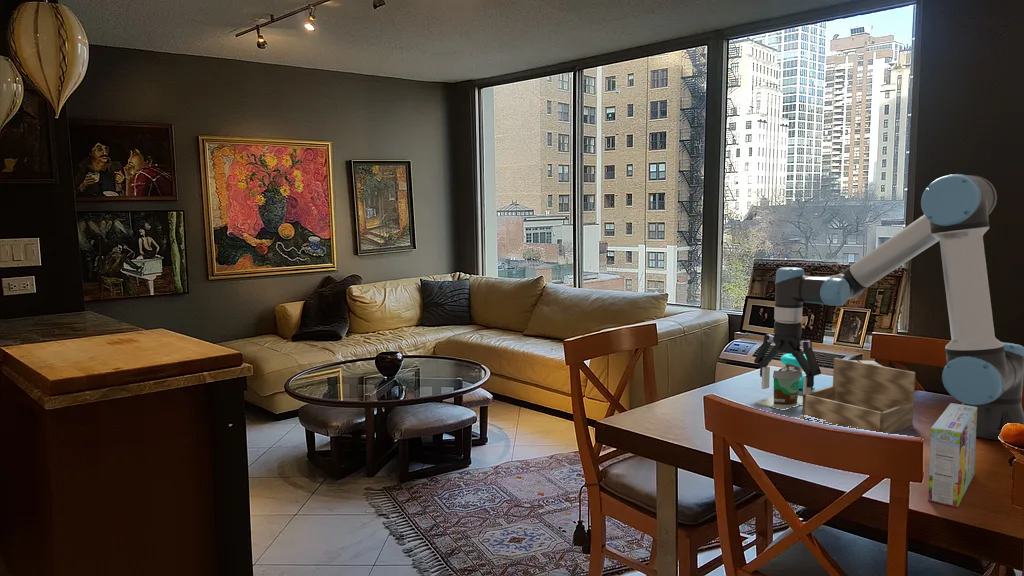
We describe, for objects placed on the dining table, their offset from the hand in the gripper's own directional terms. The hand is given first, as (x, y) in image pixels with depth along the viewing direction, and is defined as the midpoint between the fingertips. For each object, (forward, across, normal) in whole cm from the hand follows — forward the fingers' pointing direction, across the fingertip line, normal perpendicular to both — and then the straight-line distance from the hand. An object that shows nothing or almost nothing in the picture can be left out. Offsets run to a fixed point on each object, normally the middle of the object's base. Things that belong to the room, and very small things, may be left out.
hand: (785, 393), depth 198 cm
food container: (+2, -2, 0) cm, 3 cm away
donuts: (+3, +8, -19) cm, 21 cm away
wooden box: (+3, -21, +3) cm, 21 cm away
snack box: (+3, -55, +27) cm, 62 cm away
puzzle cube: (+3, -10, -24) cm, 26 cm away
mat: (+3, 0, 0) cm, 3 cm away
